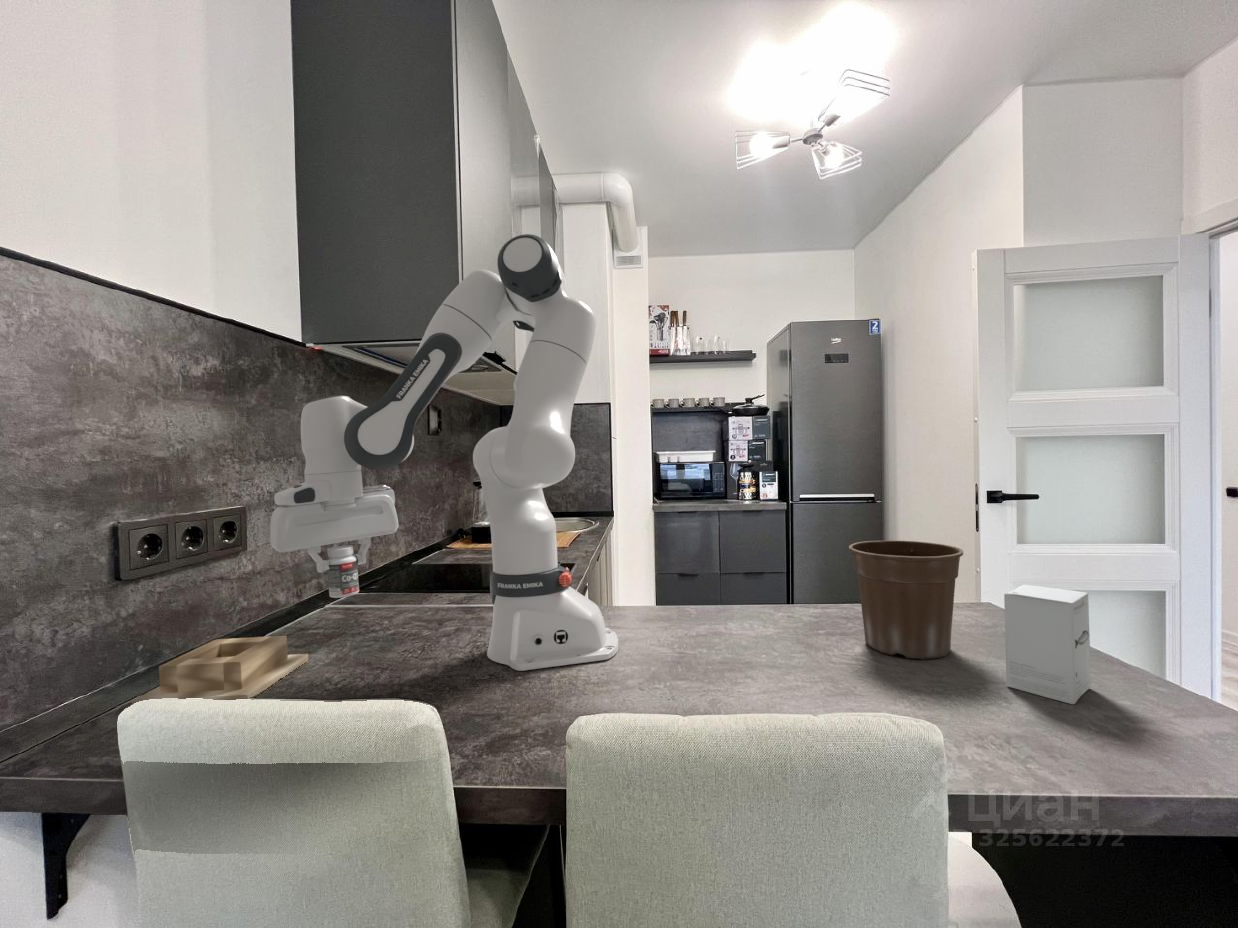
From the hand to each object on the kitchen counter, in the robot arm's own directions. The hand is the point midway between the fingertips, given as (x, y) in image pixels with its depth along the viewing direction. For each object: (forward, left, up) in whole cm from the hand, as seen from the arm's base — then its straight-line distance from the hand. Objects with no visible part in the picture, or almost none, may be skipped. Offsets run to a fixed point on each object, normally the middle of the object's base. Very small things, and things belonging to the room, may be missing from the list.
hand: (342, 567), depth 95 cm
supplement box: (-103, +28, -16) cm, 108 cm away
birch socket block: (+14, +10, -15) cm, 23 cm away
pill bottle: (0, 0, -5) cm, 5 cm away
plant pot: (-94, +11, -16) cm, 96 cm away
